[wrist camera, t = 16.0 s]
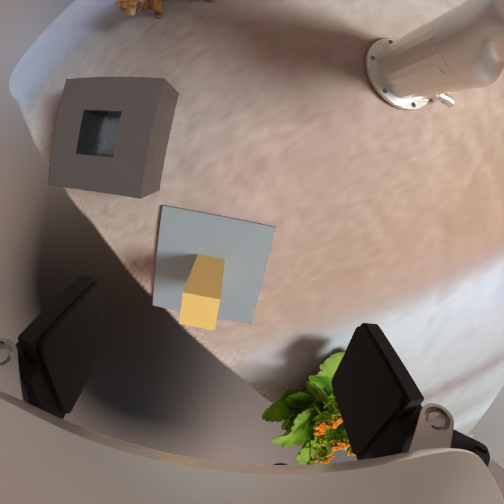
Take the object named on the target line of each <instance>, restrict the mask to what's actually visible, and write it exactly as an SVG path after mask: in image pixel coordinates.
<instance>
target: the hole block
mask: <svg viewBox="0 0 504 504" xmlns="http://www.w3.org/2000/svg"><path fill="white" fill-rule="evenodd" d="M178 95H179V93H178V92H177V91H176V90H175V89H174V88H173V87H172V86H171V85H170V84H169V83H168V82H167V81H166V80H165V79H162V78H144V77H93V78H76V79H66V82H65V86H64V90H63V94H62V98H61V102H60V106H59V111H58V116H57V121H56V126H55V132H54V138H53V144H52V151H51V159H50V168H49V169H50V170H49V180H48V185H53V186H61V187H68V188H75V189H82V190H89V191H96V192H103V193H109V194H115V195H122V196H128V197H134V198H140V199H141V198H143V197H145V196H147V195H149V194H152V193H154V192H156V191H159V188H160V182H161V176H162V170H163V165H164V159H165V154H166V149H167V144H168V139H169V134H170V129H171V125H172V120H173V116H174V111H175V107H176V103H177V99H178Z"/></svg>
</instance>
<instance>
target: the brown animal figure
mask: <svg viewBox="0 0 504 504" xmlns="http://www.w3.org/2000/svg"><path fill="white" fill-rule="evenodd" d="M162 1H165V0H117V1H116V2H115V4H116V5H117V7H118V9H119V11H120V12H123V13H125V14H126V16H131V17H133V16H135V15H136V13H137V12H139V11H146V10H147V9H153V10H154V11H156V12H158V13H156V16H155V17H156V18H162V17H163V15H164V10H163V9H162ZM208 1H209V2H213V1H214V0H208Z"/></svg>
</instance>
